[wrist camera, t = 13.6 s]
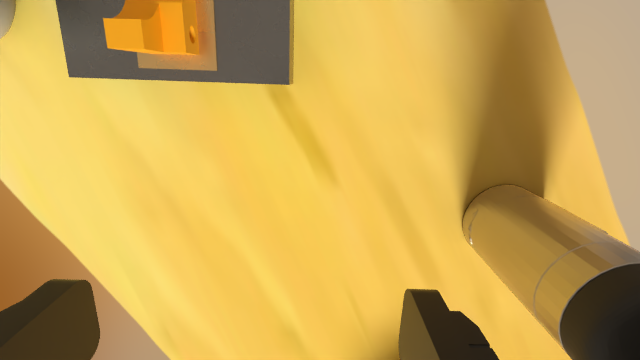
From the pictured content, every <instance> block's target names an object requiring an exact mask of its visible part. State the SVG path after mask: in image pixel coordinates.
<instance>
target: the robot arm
mask: <svg viewBox="0 0 640 360" xmlns="http://www.w3.org/2000/svg"><path fill="white" fill-rule="evenodd" d="M463 232H464V236H465V238H466V240H467V242H468V243H469V244H470V246H471V247H472V248H473V249H474V250H475V251H476V252H477V254H478V255H479V256H480V257H481V258H482V259H483V260H484V262H485V263H486V264H487V265H488V266H489V267H490V268H491V269H492V270H493V272H494V273H495V274H496V275H497V276H498V277H499V278H500V279H501V281H502V282H503V283H504V284H505V285H506V286H507V287H508V288H509V290H510V291H511V292H512V293H513V294H514V295H515V296H516V297H517V298H518V300H519V301H520V302H521V303H522V304H523V305H524V306H525V307H526V309H527V310H528V311H529V312H530V313H531V314H532V315H533V316H534V317H535V319H536V320H537V321H538V322H539V323H540V324H541V325H542V326H543V327H544V328H545V330H546V331H547V332H548V333H549V334H550V335H551V336H552V337H553V339H554V340H555V341H556V342H557V343H558V344H559V345H560V346H561V347H562V349H563V350H564V351H565V352H566V353H567V354H568V355H569V356H570V358H571V359H572V360H640V252H639V251H637V250H636V249H634V248H632V247H630V246H628V245H626V244H624V243H623V242H621V241H619V240H617V239H615V238H613V237H612V236H610V235H608V233H606V232H605V231H603V230H601V229H600V228H598V227H596V226H594V225H592V224H590V223H589V222H587V221H585V220H583V219H581V218H579V217H578V216H576V215H574V214H572V213H570V212H568V211H567V210H565V209H563V208H561V207H559V206H557V205H555V204H554V203H552V202H550V201H548V200H546V199H544V198H541V197H539V196H537V195H535V194H533V193H532V192H530V191H528V190H526V189H524V188H522V187H519V186H515V185H500V186H495V187H492V188H490V189H487V190H486V191H484V192H482V193H481V194H479V195H478V196H477V197H476V198H475V199H474V200H473V201H472V202H471V204H470V205H469V206H468V208H467V210H466V212H465V215H464V218H463ZM99 339H100V328H99V323H98V317H97V312H96V307H95V302H94V296H93V291H92V287H91V285H90V283H89V282H88V281H86V280H65V279H63V280H62V279H53V280H50V281H48V282H46V283H45V284H43V285H42V286H41V287H39V288H38V289H37V290H35V291H34V292H33V293H32V294H30V295H29V296H28V297H26V298H25V299H24V300H22V301H20V302H19V303H16V304H15V305H12V306H10V307H9V308H7V309H5V310H3V311H1V312H0V360H90V359H91V358H92V357H93V355H94V353H95V351H96V349H97V346H98V343H99ZM399 357H400V360H499V359H498V357H497V355H496V354H495V352H494V351H493V349H492V348H490V344H489V343H488V341H487V340H486V338H485V337H484V335H483V333H482V332H481V330H480V329H479V327H478V326H477V325H476V324H475V323H473V322H472V321H471V320H470V319H469V318H467V317H466V316H465V315H464V314H463V313H462V312H460V311H449V309H448V307H447V305H446V304H445V302H444V300H443V298H442V296H441V295H440V293H439V292H438V291H437V290H425V289H407V290H406V291H405V294H404V301H403V309H402V317H401V325H400V333H399Z"/></svg>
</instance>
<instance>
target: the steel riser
mask: <svg viewBox="0 0 640 360" xmlns="http://www.w3.org/2000/svg"><path fill="white" fill-rule="evenodd" d="M195 2H196V16H197V29H198V42H199V55H180V54H149V53H141V52H133V51H125V50H117V49H110V48H107V42H106V35H105V28H104V21H103V18H114V17H116V16H117V15H118V14H119V13H120V12H121V10H122V9H123V6H124V4H125V0H56V5H57V11H58V16H59V22H60V28H61V34H62V39H63V45H64V51H65V56H66V62H67V68H68V73H69V77H80V78H109V79H138V80H167V81H196V82H225V83H255V84H284V85H290V84H293V42H294V0H195Z"/></svg>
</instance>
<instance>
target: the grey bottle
mask: <svg viewBox="0 0 640 360" xmlns="http://www.w3.org/2000/svg"><path fill="white" fill-rule="evenodd" d="M15 8H16V4H15V0H0V38H2V37H3V36H4V35H5V34H6V33H7V32H8V30H9V29H10V27H11V24H12V22H13V19H14V15H15Z"/></svg>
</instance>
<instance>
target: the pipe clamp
mask: <svg viewBox="0 0 640 360" xmlns="http://www.w3.org/2000/svg"><path fill="white" fill-rule="evenodd" d="M103 21H104V28H105V35H106V42H107V48H110V49H117V50H125V51H133V52H141V53H149V54H180V55H199V42H198V29H197V16H196V2H195V0H125V4H124V6H123V9H122V10H121V12H120V13H119V14H118V15H117V16H116V17H114V18H103Z"/></svg>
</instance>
